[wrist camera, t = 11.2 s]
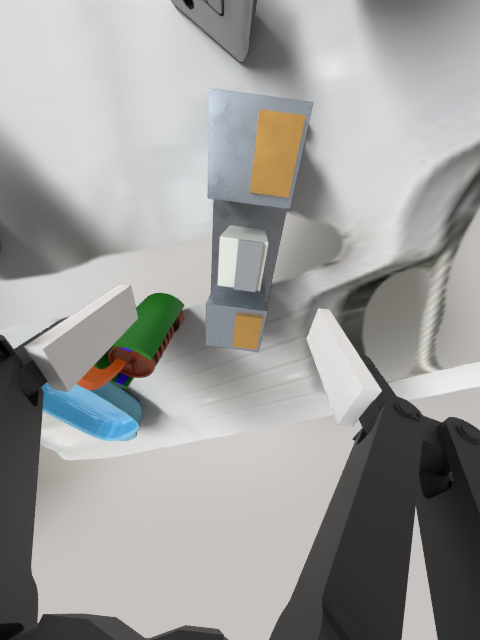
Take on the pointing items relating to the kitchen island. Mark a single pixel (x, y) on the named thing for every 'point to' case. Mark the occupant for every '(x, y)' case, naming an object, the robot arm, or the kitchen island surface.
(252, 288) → the block
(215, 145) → the rail
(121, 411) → the casserole dish
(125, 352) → the motor
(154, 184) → the kitchen island surface
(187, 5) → the electrical switch
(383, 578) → the robot arm
